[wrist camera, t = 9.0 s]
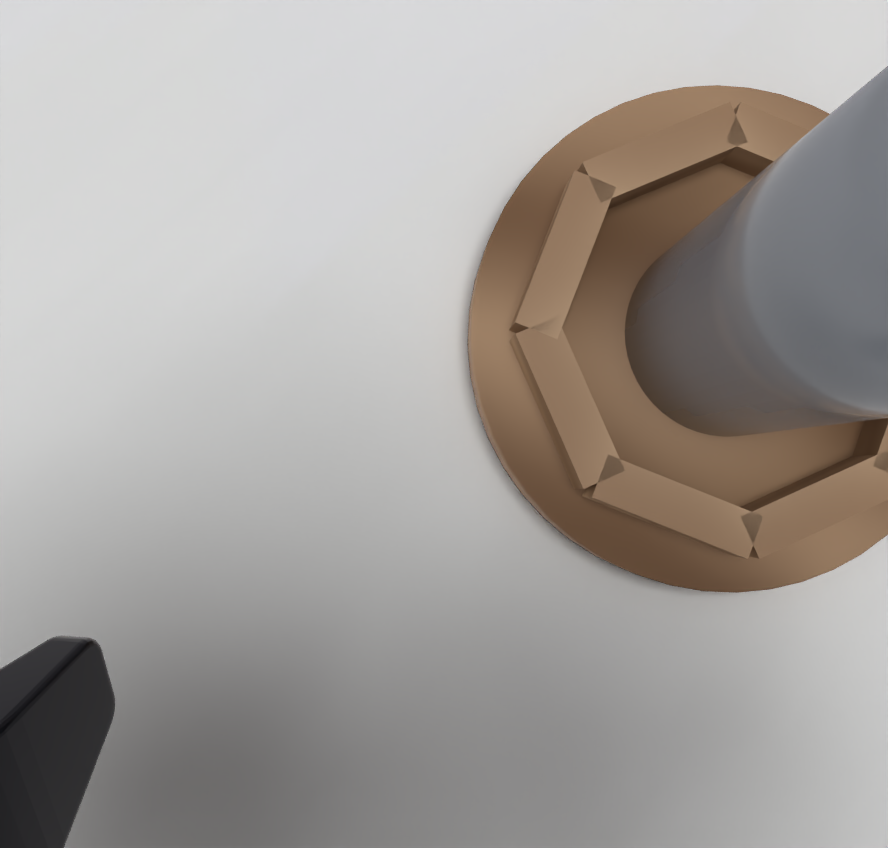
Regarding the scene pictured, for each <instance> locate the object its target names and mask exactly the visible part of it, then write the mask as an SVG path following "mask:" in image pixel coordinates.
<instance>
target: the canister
mask: <svg viewBox="0 0 888 848" xmlns="http://www.w3.org/2000/svg"><path fill="white" fill-rule="evenodd" d="M625 345H626V350H627V356H628V360H629V363H630V366H631V369H632V371H633V374H634V376H635V378H636V380H637V382H638V384H639V385H640V387H641V389H642V390H643V392H644V393H645V395H646V396H647V397H648V398H649V400H650V401H651V402H652V403H653V404H654V405H655V406H656V407H657V408H658V409H659V410H660V411H661V412H662V413H663V414H665V415H666V416H668V417H669V418H670V419H672V420H673V421H675V422H676V423H678V424H680V425H682V426H684V427H686V428H688V429H691V430H693V431H696V432H699V433H703V434H707V435H712V436H721V437H735V436H745V435H753V434H761V433H769V432H777V431H786V430H794V429H802V428H810V427H818V426H826V425H834V424H842V423H850V422H858V421H867V420H875V419H883V418H888V66H887V67H886V68H885V69H884V70H883V71H881V72H880V73H879V74H878V75H877V76H875V77H874V78H873V79H872V80H871V81H869V82H868V83H867V84H866V85H865V86H863V87H862V88H861V89H860V90H859V91H857V92H856V93H855V94H854V95H853V96H851V97H850V98H849V99H848V100H847V101H845V102H844V103H843V104H842V105H841V106H839V107H838V108H837V109H836V110H835V111H833V112H832V113H831V114H830V115H829V116H827V117H826V118H825V119H824V120H823V121H821V122H820V123H819V124H818V125H817V126H815V127H814V128H813V129H812V130H811V131H809V132H808V133H807V134H806V135H805V136H803V137H802V138H801V139H800V140H799V141H797V142H796V143H795V144H794V145H793V146H792V147H790V148H789V149H788V150H787V151H786V152H784V153H783V154H782V155H781V156H780V157H778V158H777V159H776V160H775V161H774V162H772V163H771V164H770V165H769V166H768V167H766V168H765V169H764V170H763V171H762V172H760V173H759V174H758V175H757V176H756V177H754V178H753V179H752V180H751V181H750V182H748V183H747V184H746V185H745V186H744V187H742V188H741V189H740V190H739V191H738V192H736V193H735V194H734V195H733V196H732V197H730V198H729V199H728V200H727V201H726V202H724V203H723V204H722V205H721V206H720V207H718V208H717V209H716V210H715V211H714V212H712V213H711V214H710V215H709V216H708V217H706V218H705V219H704V220H703V221H702V222H701V223H699V224H698V225H697V226H696V227H695V228H693V229H692V230H691V231H690V232H689V233H687V234H686V235H685V236H684V237H683V238H681V239H680V240H679V241H678V242H677V243H675V244H674V245H673V246H672V247H671V248H669V249H668V250H667V251H666V252H665V253H663V254H662V255H661V256H660V257H659V258H657V259H656V260H655V261H654V262H653V263H652V264H651V265H650V267H649V268H648V269H647V270H646V271H645V273H644V274H643V275H642V277H641V278H640V280H639V282H638V283H637V285H636V287H635V289H634V291H633V294H632V296H631V299H630V302H629V305H628V309H627V314H626V321H625Z"/></svg>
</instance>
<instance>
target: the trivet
mask: <svg viewBox="0 0 888 848" xmlns="http://www.w3.org/2000/svg"><path fill="white" fill-rule="evenodd" d="M829 115H830V114H829V113H827V112H825V111H823V110H821V109H819V108H816V107H814V106H812V105H810V104H807V103H804V102H801V101H798V100H796V99H793V98H790V97H787V96H784V95H781V94H776V93H772V92H767V91H762V90H757V89H752V88H744V87H731V86H718V85H716V86H697V87H683V88H678V89H673V90H667V91H662V92H657V93H652V94H649V95H646V96H643V97H640V98H637V99H634V100H631V101H628V102H625V103H622V104H620V105H618V106H616V107H614V108H612V109H610V110H608V111H606V112H604V113H602V114H600V115H598V116H596V117H594V118H592V119H591V120H589V121H588V122H586V123H585V124H583V125H582V126H580V127H579V128H577V129H576V130H574V131H573V132H571V133H570V134H568V135H567V136H566V137H565V138H563V139H562V140H561V141H560V142H559V143H558V144H557V145H555V146H554V147H553V148H552V149H551V150H550V151H549V152H547V153H546V154H545V155H544V156H543V157H542V158H541V159H540V160H539V162H538V163H537V164H536V165H535V166H534V167H533V169H532V170H531V171H530V172H529V173H528V174H527V175H526V177H525V178H524V179H523V180H522V181H521V183H520V184H519V186H518V187H517V189H516V191H515V192H514V194H513V195H512V197H511V198H510V200H509V201H508V203H507V204H506V206H505V207H504V209H503V211H502V213H501V215H500V217H499V220H498V222H497V224H496V226H495V228H494V230H493V232H492V234H491V236H490V239H489V241H488V244H487V246H486V249H485V251H484V254H483V257H482V260H481V263H480V266H479V269H478V273H477V276H476V279H475V282H474V288H473V293H472V299H471V304H470V310H469V324H468V355H469V367H470V377H471V382H472V386H473V391H474V395H475V400H476V404H477V408H478V411H479V414H480V417H481V419H482V422H483V425H484V428H485V431H486V433H487V436H488V438H489V440H490V442H491V444H492V446H493V448H494V450H495V452H496V454H497V456H498V458H499V460H500V462H501V464H502V466H503V467H504V469H505V470H506V472H507V473H508V475H509V476H510V477H511V479H512V480H513V482H514V483H515V485H516V486H517V488H518V489H519V490H520V492H521V493H522V494H523V495H524V497H525V498H526V499H527V500H528V501H529V502H530V503H531V504H532V505H533V506H534V508H535V509H536V510H537V511H538V512H539V513H540V514H541V515H542V516H543V517H544V518H545V519H546V520H547V521H548V522H549V523H551V524H552V525H553V526H554V527H555V528H557V529H558V530H559V531H560V532H561V533H562V534H564V535H565V536H566V537H567V538H568V539H570V540H572V541H573V542H575V543H576V544H578V545H579V546H581V547H582V548H584V549H585V550H587V551H589V552H590V553H592V554H593V555H595V556H597V557H599V558H601V559H603V560H605V561H607V562H610V563H612V564H614V565H616V566H618V567H620V568H622V569H624V570H627V571H630V572H632V573H635V574H637V575H640V576H643V577H646V578H649V579H653V580H656V581H659V582H662V583H665V584H668V585H672V586H678V587H683V588H689V589H695V590H700V591H714V592H747V591H757V590H768V589H773V588H778V587H782V586H786V585H790V584H795V583H799V582H803V581H805V580H808V579H811V578H813V577H816V576H818V575H821V574H824V573H826V572H829V571H831V570H834V569H835V568H837V567H839V566H841V565H843V564H845V563H846V562H848V561H850V560H852V559H854V558H855V557H857V556H859V555H861V554H862V553H864V552H865V551H866V550H868V549H869V548H870V547H872V546H873V545H874V544H876V543H877V542H878V541H880V540H881V539H883V538H884V537H885V536H887V535H888V418H883V419H875V420H867V421H858V422H850V423H842V424H834V425H826V426H818V427H810V428H802V429H794V430H786V431H777V432H769V433H761V434H753V435H745V436H735V437H721V436H712V435H707V434H703V433H699V432H696V431H693V430H691V429H688V428H686V427H684V426H682V425H680V424H678V423H676V422H675V421H673V420H672V419H670V418H669V417H668V416H666V415H665V414H663V413H662V412H661V411H660V410H659V409H658V408H657V407H656V406H655V405H654V404H653V403H652V402H651V401H650V400H649V398H648V397H647V396H646V395H645V393H644V392H643V390H642V389H641V387H640V385H639V384H638V382H637V380H636V378H635V376H634V374H633V371H632V369H631V366H630V363H629V360H628V356H627V350H626V345H625V321H626V314H627V309H628V305H629V302H630V299H631V296H632V294H633V291H634V289H635V287H636V285H637V283H638V282H639V280H640V278H641V277H642V275H643V274H644V273H645V271H646V270H647V269H648V268H649V267H650V265H651V264H652V263H653V262H654V261H655V260H656V259H657V258H659V257H660V256H661V255H662V254H663V253H665V252H666V251H667V250H668V249H669V248H671V247H672V246H673V245H674V244H675V243H677V242H678V241H679V240H680V239H681V238H683V237H684V236H685V235H686V234H687V233H689V232H690V231H691V230H692V229H693V228H695V227H696V226H697V225H698V224H699V223H701V222H702V221H703V220H704V219H705V218H706V217H708V216H709V215H710V214H711V213H712V212H714V211H715V210H716V209H717V208H718V207H720V206H721V205H722V204H723V203H724V202H726V201H727V200H728V199H729V198H730V197H732V196H733V195H734V194H735V193H736V192H738V191H739V190H740V189H741V188H742V187H744V186H745V185H746V184H747V183H748V182H750V181H751V180H752V179H753V178H754V177H756V176H757V175H758V174H759V173H760V172H762V171H763V170H764V169H765V168H766V167H768V166H769V165H770V164H771V163H772V162H774V161H775V160H776V159H777V158H778V157H780V156H781V155H782V154H783V153H784V152H786V151H787V150H788V149H789V148H790V147H792V146H793V145H794V144H795V143H796V142H797V141H799V140H800V139H801V138H802V137H803V136H805V135H806V134H807V133H808V132H809V131H811V130H812V129H813V128H814V127H815V126H817V125H818V124H819V123H820V122H821V121H823V120H824V119H825V118H826V117H827V116H829Z"/></svg>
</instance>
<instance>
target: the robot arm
mask: <svg viewBox="0 0 888 848" xmlns="http://www.w3.org/2000/svg"><path fill="white" fill-rule="evenodd" d="M114 710H115V698H114V692H113V689H112V685H111V682H110V678H109V675H108V671H107V667H106V664H105V660H104V657H103V653H102V650H101V647H100V645H99V644H98V643H97V642H96V641H95V640H94V639H91V638H85V637H71V636H56V637H53V638H51V639H49V640H47V641H45V642H44V643H42V644H41V645H39V646H37V647H36V648H34V649H32V650H31V651H29V652H27V653H26V654H24V655H23V656H21V657H19V658H18V659H16V660H14V661H13V662H11V663H10V664H8V665H6V666H5V667H3V668H1V669H0V848H64V845H65V843H66V840H67V838H68V835H69V832H70V830H71V827H72V825H73V822H74V819H75V817H76V814H77V812H78V809H79V806H80V804H81V801H82V799H83V796H84V793H85V791H86V788H87V785H88V783H89V780H90V778H91V775H92V772H93V770H94V767H95V765H96V762H97V759H98V757H99V754H100V752H101V749H102V746H103V744H104V741H105V739H106V736H107V733H108V731H109V728H110V725H111V723H112V720H113V715H114Z"/></svg>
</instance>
